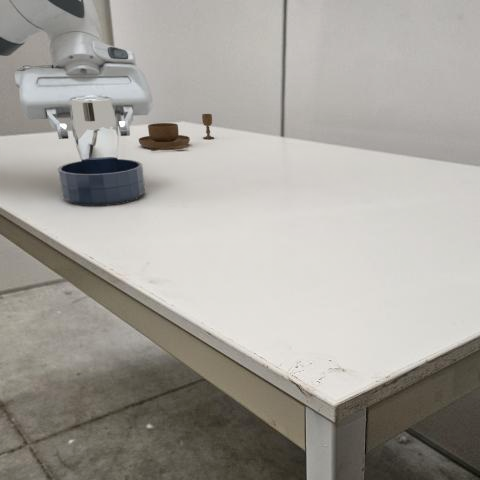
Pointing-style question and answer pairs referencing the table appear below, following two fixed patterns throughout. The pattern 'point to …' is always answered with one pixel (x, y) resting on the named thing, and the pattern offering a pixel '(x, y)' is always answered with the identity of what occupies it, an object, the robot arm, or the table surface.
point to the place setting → (170, 135)
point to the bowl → (102, 184)
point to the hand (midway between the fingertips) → (94, 135)
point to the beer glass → (95, 133)
